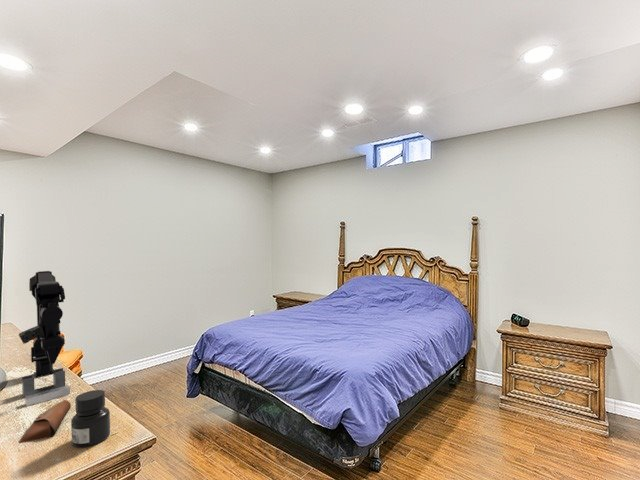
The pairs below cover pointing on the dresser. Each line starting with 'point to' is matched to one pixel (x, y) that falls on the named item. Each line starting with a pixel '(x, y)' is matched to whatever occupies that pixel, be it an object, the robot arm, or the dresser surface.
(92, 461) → the dresser surface
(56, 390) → the rail
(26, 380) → the standards
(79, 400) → the ink bottle
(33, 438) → the sunglasses case
